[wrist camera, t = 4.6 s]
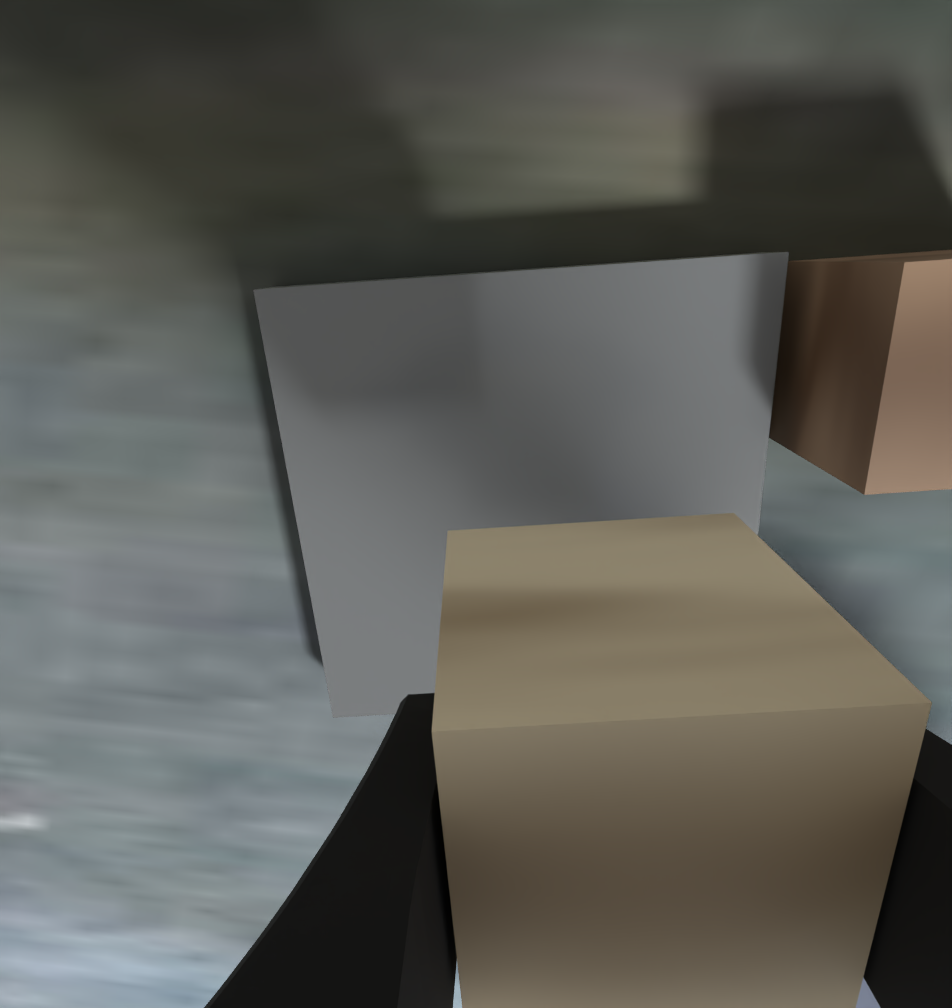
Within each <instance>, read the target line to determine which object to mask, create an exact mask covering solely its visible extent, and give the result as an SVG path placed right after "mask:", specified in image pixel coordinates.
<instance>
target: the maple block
mask: <svg viewBox="0 0 952 1008" xmlns="http://www.w3.org/2000/svg"><path fill="white" fill-rule="evenodd" d="M931 705H932V702H931V701H930V700H929V699H928V698H927V697H925V696H924V695H923V694H922V693H921V692H920V691H919V690H918V689H917V688H916V687H915V686H914V685H913V684H912V683H911V682H910V681H909V680H908V679H907V678H906V677H905V676H904V675H903V674H901V673H900V672H899V671H898V670H897V669H896V668H895V667H894V666H893V665H892V664H891V663H890V662H889V661H888V660H887V659H886V658H885V657H884V656H883V655H882V654H881V653H880V652H879V651H877V650H876V649H875V648H874V647H873V646H872V645H871V644H870V643H869V642H868V641H867V640H866V639H865V638H864V637H863V636H862V635H861V634H860V633H859V632H858V631H857V630H856V629H854V628H853V627H852V626H851V625H850V624H849V623H848V622H847V621H846V620H845V619H844V618H843V617H842V616H841V615H840V614H839V613H838V612H837V611H836V610H835V609H834V608H833V607H832V606H830V605H829V604H828V603H827V602H826V601H825V600H824V599H823V598H822V597H821V596H820V595H819V594H818V593H817V592H816V591H815V590H814V589H813V588H812V587H811V586H810V585H809V584H808V583H806V582H805V581H804V580H803V579H802V578H801V577H800V576H799V575H798V574H797V573H796V572H795V571H794V570H793V569H792V568H791V567H790V566H789V565H788V564H787V563H786V562H785V561H784V560H782V559H781V558H780V557H779V556H778V555H777V554H776V553H775V552H774V551H773V550H772V549H771V548H770V547H769V546H768V545H767V544H766V543H765V542H764V541H763V540H762V539H761V538H760V537H758V536H757V535H756V534H755V533H754V532H753V531H752V530H751V529H750V528H749V527H748V526H747V525H746V524H745V523H744V522H743V521H742V520H741V519H740V518H739V517H738V516H737V515H736V514H734V513H725V514H708V515H692V516H676V517H660V518H644V519H628V520H612V521H595V522H579V523H563V524H547V525H531V526H515V527H499V528H482V529H466V530H450V531H448V533H447V545H446V558H445V570H444V583H443V595H442V608H441V620H440V633H439V645H438V658H437V670H436V683H435V695H434V708H433V720H432V740H433V749H434V757H435V766H436V775H437V784H438V793H439V802H440V811H441V820H442V829H443V838H444V847H445V856H446V865H447V874H448V883H449V891H450V900H451V909H452V918H453V927H454V936H455V945H456V954H457V963H458V972H459V981H460V990H461V999H462V1008H856V1004H857V1000H858V996H859V992H860V988H861V984H862V980H863V976H864V972H865V968H866V964H867V960H868V956H869V952H870V948H871V944H872V940H873V936H874V932H875V928H876V924H877V920H878V916H879V912H880V908H881V904H882V900H883V897H884V893H885V889H886V885H887V881H888V877H889V873H890V869H891V865H892V861H893V857H894V853H895V849H896V845H897V841H898V837H899V833H900V829H901V825H902V821H903V817H904V813H905V809H906V805H907V801H908V797H909V793H910V789H911V785H912V781H913V777H914V773H915V769H916V765H917V761H918V757H919V753H920V749H921V745H922V741H923V737H924V733H925V729H926V725H927V721H928V717H929V713H930V709H931Z"/></svg>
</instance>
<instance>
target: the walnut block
mask: <svg viewBox="0 0 952 1008" xmlns="http://www.w3.org/2000/svg"><path fill="white" fill-rule="evenodd" d="M769 438H771V439H772V440H774V441H776V442H777V443H779V444H781V445H782V446H784V447H786V448H787V449H789V450H791V451H792V452H794V453H796V454H797V455H799V456H801V457H802V458H804V459H806V460H807V461H809V462H811V463H812V464H814V465H816V466H817V467H819V468H821V469H822V470H824V471H826V472H827V473H829V474H831V475H832V476H834V477H836V478H837V479H839V480H841V481H842V482H844V483H846V484H847V485H849V486H851V487H852V488H854V489H856V490H857V491H859V492H861V493H862V494H864V495H867V494H882V493H897V492H912V491H928V490H943V489H952V250H939V251H925V252H911V253H897V254H883V255H869V256H854V257H840V258H826V259H812V260H798V261H788V268H787V277H786V286H785V296H784V305H783V314H782V323H781V332H780V341H779V351H778V360H777V369H776V378H775V387H774V397H773V406H772V415H771V424H770V433H769Z"/></svg>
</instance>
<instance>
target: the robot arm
mask: <svg viewBox="0 0 952 1008" xmlns="http://www.w3.org/2000/svg"><path fill="white" fill-rule="evenodd" d="M434 695H435V693H424V694H408V695H407V696H406V697H405V698H404V699H403V700H402V701H401V702H400V705H399V707H398V710H397V712H396V714H395V716H394V719H393V721H392V723H391V725H390V727H389V729H388V731H387V733H386V735H385V737H384V739H383V741H382V743H381V745H380V747H379V749H378V751H377V753H376V755H375V757H374V758H373V760H372V762H371V764H370V766H369V768H368V770H367V772H366V773H365V775H364V777H363V778H362V780H361V782H360V784H359V785H358V787H357V789H356V790H355V792H354V794H353V796H352V797H351V799H350V801H349V802H348V804H347V806H346V808H345V809H344V811H343V813H342V814H341V816H340V818H339V820H338V821H337V823H336V824H335V826H334V828H333V829H332V831H331V833H330V834H329V836H328V837H327V839H326V840H325V842H324V843H323V845H322V846H321V848H320V849H319V851H318V852H317V854H316V855H315V857H314V858H313V860H312V861H311V863H310V864H309V866H308V867H307V869H306V871H305V872H304V874H303V875H302V877H301V878H300V880H299V881H298V883H297V884H296V886H295V887H294V889H293V890H292V892H291V893H290V895H289V896H288V897H287V899H286V900H285V902H284V903H283V905H282V906H281V907H280V909H279V910H278V912H277V913H276V914H275V916H274V917H273V919H272V920H271V921H270V923H269V924H268V926H267V927H266V928H265V930H264V931H263V932H262V934H261V935H260V936H259V938H258V939H257V941H256V942H255V943H254V945H253V946H252V947H251V948H250V950H249V951H248V952H247V954H246V955H245V956H244V958H243V959H242V960H241V962H240V963H239V964H238V966H237V967H236V968H235V969H234V971H233V972H232V973H231V975H230V976H229V977H228V979H227V980H226V981H225V982H224V984H223V985H222V986H221V988H220V989H219V990H218V991H217V993H216V994H215V995H214V996H213V998H212V999H211V1000H210V1001H209V1002H208V1004H207V1005H206V1006H205V1007H204V1008H453V997H454V985H455V973H456V961H457V954H456V945H455V936H454V927H453V918H452V909H451V900H450V891H449V883H448V874H447V865H446V856H445V847H444V838H443V829H442V820H441V811H440V802H439V793H438V784H437V775H436V766H435V757H434V749H433V740H432V720H433V708H434ZM856 1008H952V745H951V744H949V743H948V742H946V741H945V740H943V739H941V738H940V737H938V736H937V735H935V734H933V733H932V732H930V731H929V730H927V729H925V733H924V737H923V741H922V745H921V749H920V753H919V757H918V761H917V765H916V769H915V773H914V777H913V781H912V785H911V789H910V793H909V797H908V801H907V805H906V809H905V813H904V817H903V821H902V825H901V829H900V833H899V837H898V841H897V845H896V849H895V853H894V857H893V861H892V865H891V869H890V873H889V877H888V881H887V885H886V889H885V893H884V897H883V900H882V904H881V908H880V912H879V916H878V920H877V924H876V928H875V932H874V936H873V940H872V944H871V948H870V952H869V956H868V960H867V964H866V968H865V972H864V976H863V980H862V984H861V988H860V992H859V996H858V1000H857V1004H856Z"/></svg>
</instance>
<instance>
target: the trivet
mask: <svg viewBox="0 0 952 1008" xmlns="http://www.w3.org/2000/svg"><path fill="white" fill-rule="evenodd" d="M788 256H789V252H758V253H744V254H730V255H716V256H702V257H687V258H673V259H659V260H645V261H631V262H617V263H603V264H588V265H574V266H560V267H546V268H532V269H518V270H504V271H490V272H475V273H461V274H447V275H433V276H419V277H405V278H391V279H376V280H362V281H348V282H334V283H320V284H306V285H292V286H278V287H268V288H261V289H254V290H253V291H254V297H255V302H256V307H257V313H258V318H259V323H260V329H261V334H262V340H263V345H264V350H265V356H266V361H267V366H268V372H269V377H270V382H271V388H272V393H273V398H274V404H275V409H276V415H277V420H278V425H279V431H280V436H281V441H282V447H283V452H284V457H285V463H286V468H287V473H288V479H289V484H290V490H291V495H292V500H293V506H294V511H295V516H296V522H297V527H298V532H299V538H300V543H301V548H302V554H303V559H304V565H305V570H306V575H307V581H308V586H309V591H310V597H311V602H312V607H313V613H314V618H315V623H316V629H317V634H318V640H319V645H320V650H321V656H322V661H323V666H324V672H325V677H326V682H327V688H328V693H329V698H330V704H331V709H332V715H333V718H337V717H353V716H369V715H386V714H396V712H397V710H398V707H399V705H400V702H401V701H402V700H403V699H404V698H405V697H406V696H407V695H408V694H424V693H435V683H436V670H437V658H438V645H439V633H440V620H441V608H442V595H443V583H444V570H445V558H446V545H447V533H448V531H450V530H466V529H482V528H499V527H515V526H531V525H547V524H563V523H579V522H595V521H612V520H628V519H644V518H660V517H676V516H692V515H708V514H725V513H734V514H736V515H737V516H738V517H739V518H740V519H741V520H742V521H743V522H744V523H745V524H746V525H747V526H748V527H749V528H750V529H751V530H752V531H753V532H754V533H755V534H756V535H757V536H758V530H759V521H760V512H761V503H762V494H763V485H764V476H765V466H766V457H767V448H768V439H769V430H770V421H771V412H772V402H773V393H774V384H775V375H776V366H777V357H778V348H779V338H780V329H781V320H782V311H783V302H784V293H785V284H786V274H787V265H788Z"/></svg>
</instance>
